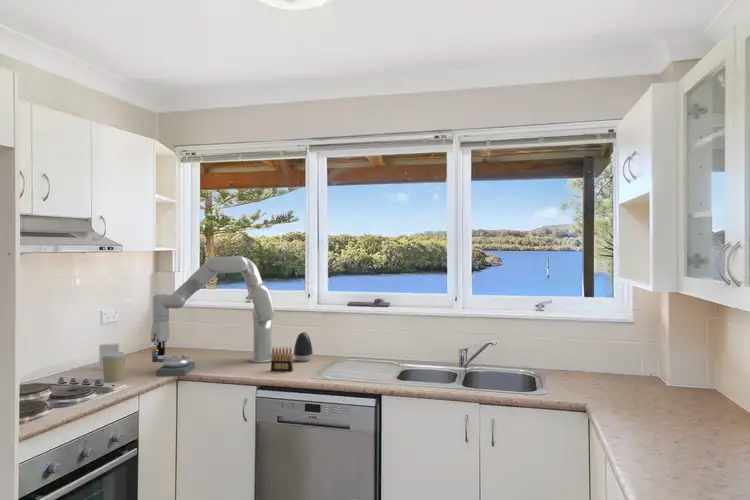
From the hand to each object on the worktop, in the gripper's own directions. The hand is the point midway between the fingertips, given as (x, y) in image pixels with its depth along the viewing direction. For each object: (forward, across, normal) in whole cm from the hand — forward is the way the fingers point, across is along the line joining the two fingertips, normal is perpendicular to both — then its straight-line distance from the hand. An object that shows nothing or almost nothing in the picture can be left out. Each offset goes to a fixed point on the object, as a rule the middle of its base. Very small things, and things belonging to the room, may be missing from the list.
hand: (160, 355), depth 246 cm
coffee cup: (+7, +22, -10) cm, 26 cm away
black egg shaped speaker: (+7, -26, +67) cm, 72 cm away
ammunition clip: (+7, -2, +62) cm, 62 cm away
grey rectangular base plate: (+7, +5, +10) cm, 13 cm away
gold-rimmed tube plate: (+4, +5, +7) cm, 10 cm away
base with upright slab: (+7, 0, -27) cm, 28 cm away
